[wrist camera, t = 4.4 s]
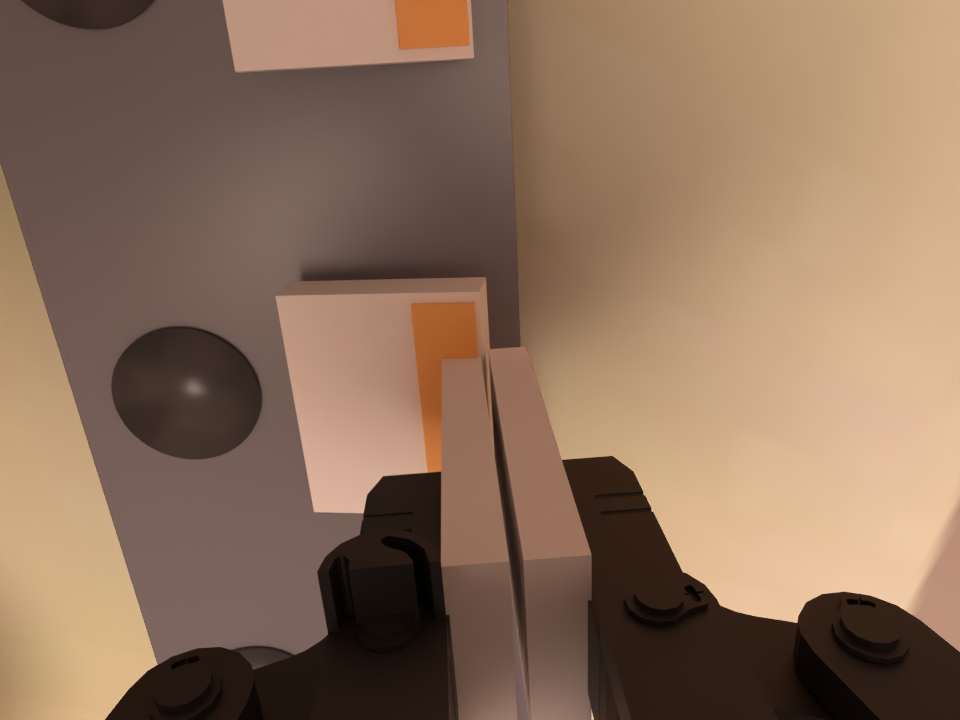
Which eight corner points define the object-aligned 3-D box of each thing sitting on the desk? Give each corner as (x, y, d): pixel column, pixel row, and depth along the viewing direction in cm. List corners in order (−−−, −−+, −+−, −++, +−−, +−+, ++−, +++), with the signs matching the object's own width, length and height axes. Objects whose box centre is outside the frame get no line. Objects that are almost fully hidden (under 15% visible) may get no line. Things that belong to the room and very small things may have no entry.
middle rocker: (294, 281, 14) (272, 298, 13) (485, 277, 14) (478, 294, 13) (328, 487, 16) (312, 515, 15) (498, 490, 16) (492, 519, 15)
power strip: (-41, -330, 13) (-204, -468, 10) (475, -352, 14) (488, -494, 10) (238, 721, 24) (205, 826, 21) (524, 694, 24) (538, 794, 21)
